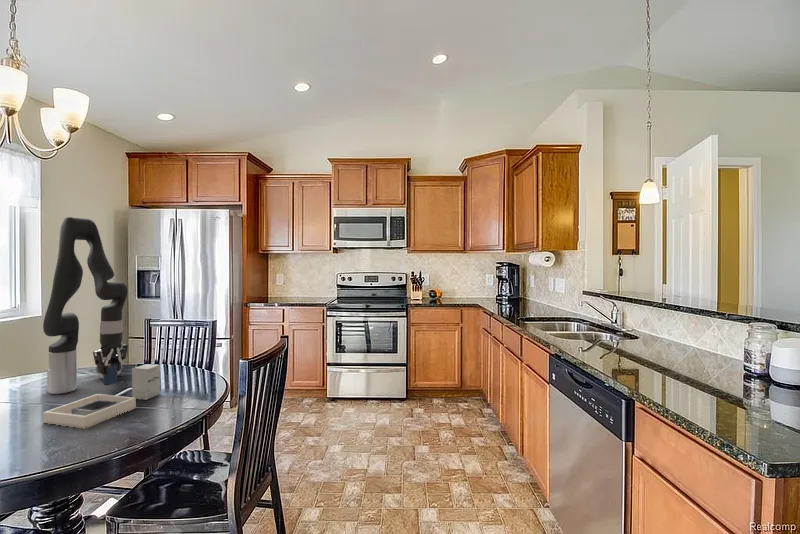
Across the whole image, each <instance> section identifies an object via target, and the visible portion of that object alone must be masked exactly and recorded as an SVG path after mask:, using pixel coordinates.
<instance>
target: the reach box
mask: <svg viewBox="0 0 800 534" xmlns="http://www.w3.org/2000/svg"><path fill="white" fill-rule="evenodd" d="M96 400H104V401H113V402H120V403H118V404H115V405H113V406H110V407H107V408H105V409H102V410H99V411H97V412H94V413H91V414H89V415H86V416H83V415H75V414H72V409H73V408H76V407H79V406H82V405H85V404H88V403H91V402H93V401H96ZM136 401H137V399H136V398H133V397H132V396H123V395H114V394H113V395H112V394H104V393H103V394H102V393H95V394H93V395H90V396H87V397H84V398H81V399H78V400H75V401H72V402H70V403H66V404H64V405H61V406H60V405H59V406H57V407H54V408H51V409H48V410H46V411H43V413H42V415H43V416H42V419H43V421H42V422H43V423H48V424H47V425H50V424H56V425H55V426H58V425H61V426H60V427H66V426H69V427H68V428H73V427H76V428H75V429H81V428H82V429H83V430H86V429H88V428H91V427H93V425H94V426H96V425H98V424H100V423H104V422H105V420H106V421H107V420H110V418H111V419H113V418H115V417H117V415H118V416H120V415H123V414H125V413H127V411H128V412H130V411H132V410H134V409H136V408H137V402H136ZM96 410H98V409H96ZM94 411H95V410H94ZM124 412H125V413H124ZM122 413H123V414H122ZM119 414H120V415H119ZM112 417H113V418H112Z"/></svg>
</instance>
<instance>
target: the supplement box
mask: <svg viewBox="0 0 800 534" xmlns="http://www.w3.org/2000/svg"><path fill="white" fill-rule="evenodd" d="M159 395H161V364H149V363H145V364H142V365H139V366H136V367H132V369H131V397H133V398H136V400H142V399H143V400H146V401H147V400H149V399H151V398H154V397H157V396H159Z"/></svg>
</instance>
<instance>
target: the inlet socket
mask: <svg viewBox="0 0 800 534" xmlns="http://www.w3.org/2000/svg"><path fill="white" fill-rule="evenodd" d="M118 403H120V402H113V401H104V400H96V401H93V402H91V403H88V404H85V405H82V406H79V407H76V408H73V409H72V414H75V415H83V416H86V415H89V414H91V413H94V412H97V411H99V410H102V409H105V408H107V407H110V406H113V405H115V404H118ZM96 409H98V410H96ZM94 410H95V411H94Z"/></svg>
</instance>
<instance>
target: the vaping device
mask: <svg viewBox="0 0 800 534" xmlns="http://www.w3.org/2000/svg"><path fill="white" fill-rule="evenodd" d="M117 361H118V357H117V356H112V357H111V364H107V366H108V370H107V375H103V379H102V384H103V386H111V385H114V384H117V383H118V376H117V371H118V365H117Z"/></svg>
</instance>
